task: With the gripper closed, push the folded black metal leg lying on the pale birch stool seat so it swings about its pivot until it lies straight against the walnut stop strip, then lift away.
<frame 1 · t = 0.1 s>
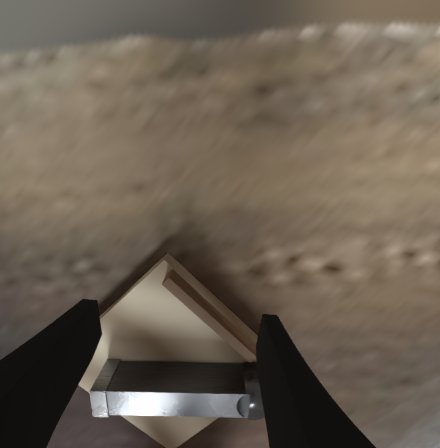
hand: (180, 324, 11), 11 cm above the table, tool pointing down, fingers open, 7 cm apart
folding leg: (184, 387, 21), point 3 cm above the table, hinge at 45.0°
stool seat: (171, 354, 24), on the table
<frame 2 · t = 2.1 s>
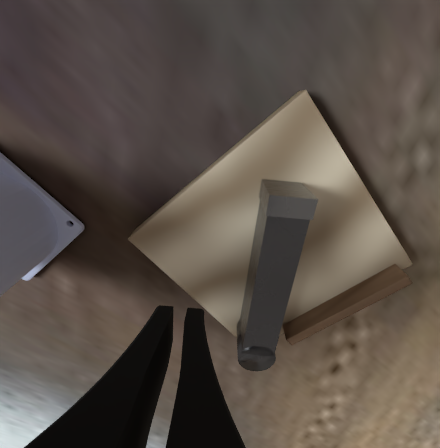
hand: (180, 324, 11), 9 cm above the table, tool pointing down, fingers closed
folding leg: (266, 285, 18), point 3 cm above the table, hinge at 45.0°
stool seat: (268, 241, 20), on the table
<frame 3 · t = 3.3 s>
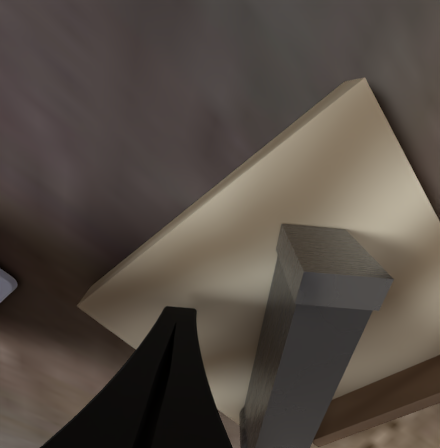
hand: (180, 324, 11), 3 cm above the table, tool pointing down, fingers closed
folding leg: (286, 379, 12), point 3 cm above the table, hinge at 45.0°
stool seat: (286, 302, 14), on the table
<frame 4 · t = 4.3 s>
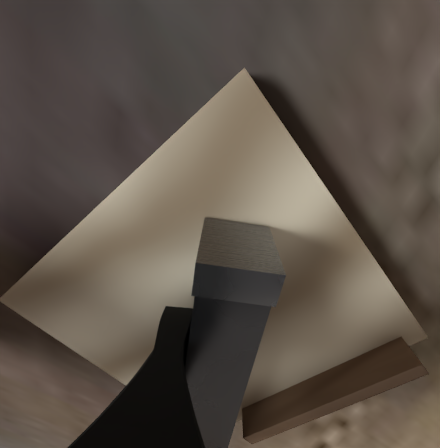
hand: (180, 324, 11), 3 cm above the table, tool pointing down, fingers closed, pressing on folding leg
folding leg: (210, 375, 12), point 3 cm above the table, hinge at 41.6°, touching gripper
stool seat: (217, 298, 14), on the table
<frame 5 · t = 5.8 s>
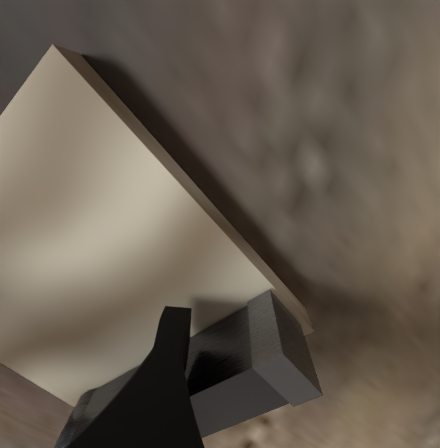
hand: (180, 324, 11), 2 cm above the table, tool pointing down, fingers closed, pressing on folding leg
folding leg: (164, 398, 12), point 3 cm above the table, hinge at -1.5°, touching gripper, stool seat
stool seat: (108, 289, 14), on the table
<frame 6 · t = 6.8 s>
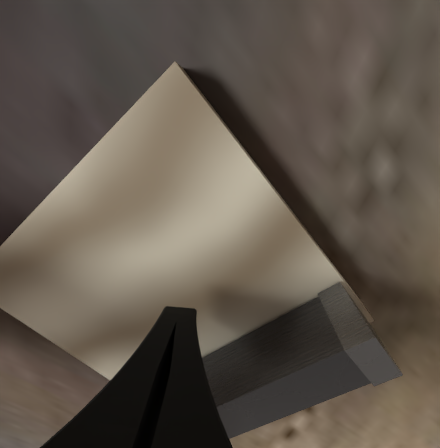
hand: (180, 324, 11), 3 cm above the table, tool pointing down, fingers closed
folding leg: (237, 384, 13), point 3 cm above the table, hinge at -1.5°, touching stool seat
stool seat: (177, 284, 14), on the table
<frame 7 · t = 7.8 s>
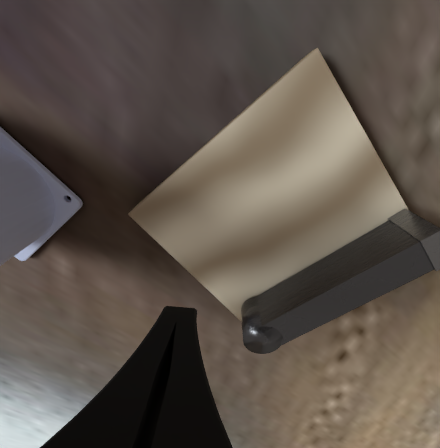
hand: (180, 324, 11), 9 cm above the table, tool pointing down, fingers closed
folding leg: (327, 287, 18), point 3 cm above the table, hinge at -1.5°, touching stool seat
stool seat: (275, 219, 19), on the table
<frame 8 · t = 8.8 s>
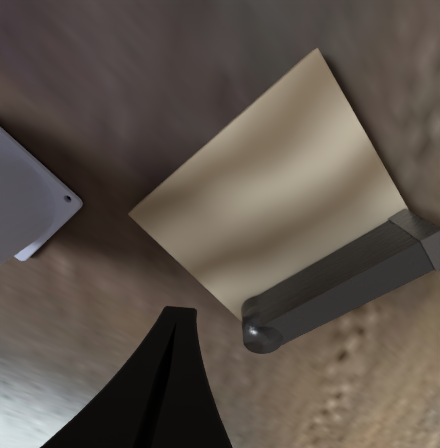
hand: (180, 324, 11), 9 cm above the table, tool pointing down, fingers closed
folding leg: (327, 287, 18), point 3 cm above the table, hinge at -1.5°, touching stool seat
stool seat: (275, 219, 19), on the table
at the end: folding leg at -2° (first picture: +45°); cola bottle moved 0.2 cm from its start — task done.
